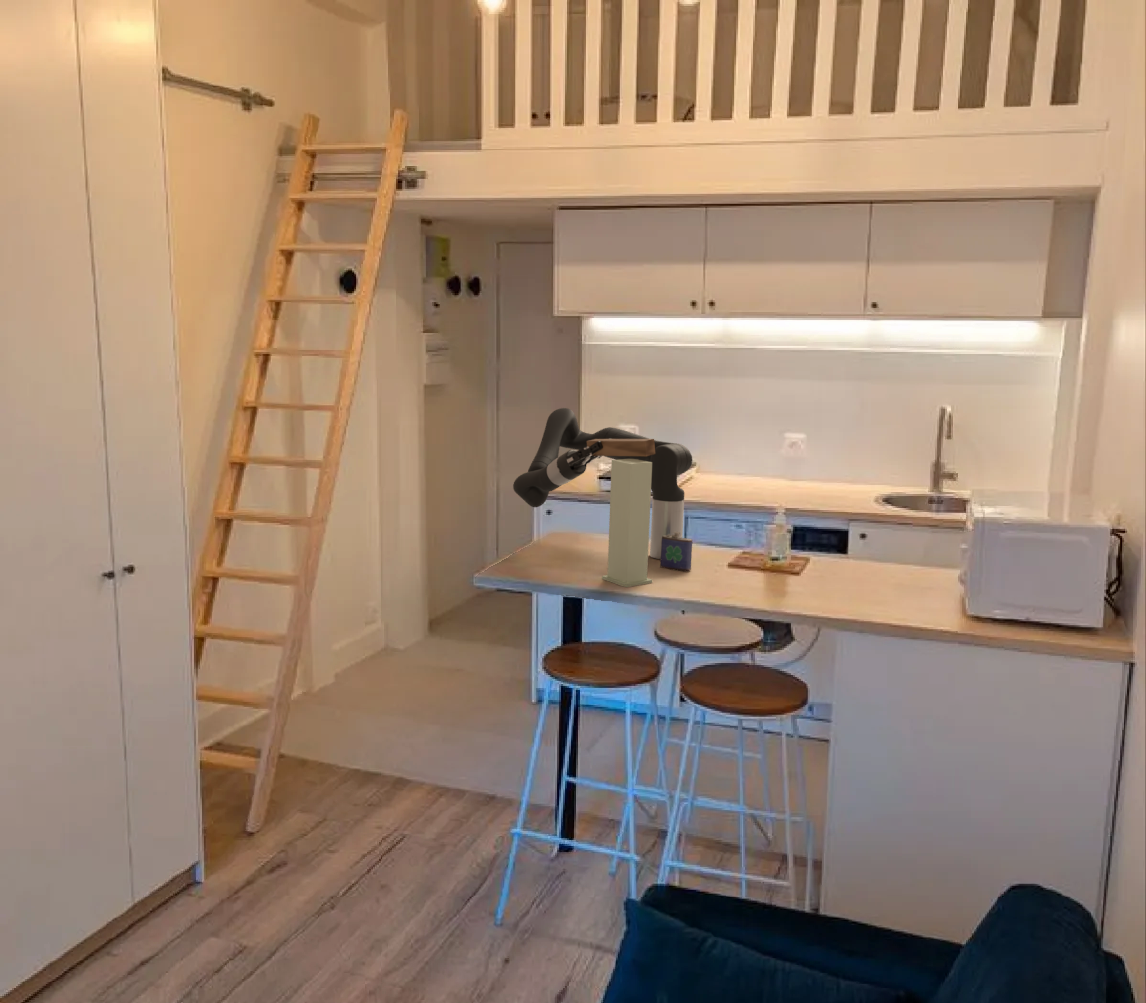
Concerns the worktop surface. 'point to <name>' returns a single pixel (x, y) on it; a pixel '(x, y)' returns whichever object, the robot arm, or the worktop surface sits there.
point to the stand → (629, 522)
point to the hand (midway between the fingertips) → (606, 443)
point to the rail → (624, 447)
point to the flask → (676, 553)
